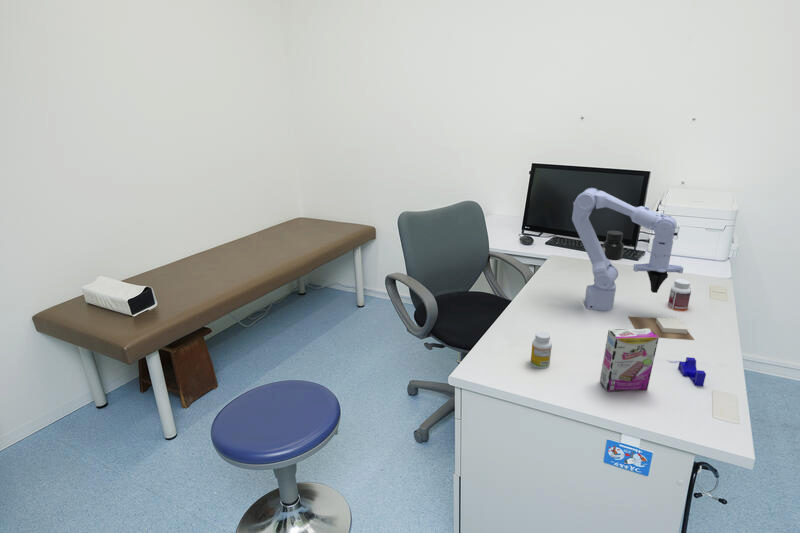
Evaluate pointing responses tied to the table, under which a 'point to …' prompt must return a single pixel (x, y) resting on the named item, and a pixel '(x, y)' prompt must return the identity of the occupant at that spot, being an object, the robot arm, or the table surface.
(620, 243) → the ink bottle
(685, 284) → the pill bottle
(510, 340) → the table surface
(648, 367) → the candy bar box
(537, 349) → the supplement bottle
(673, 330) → the tile
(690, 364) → the cable holder
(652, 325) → the board
